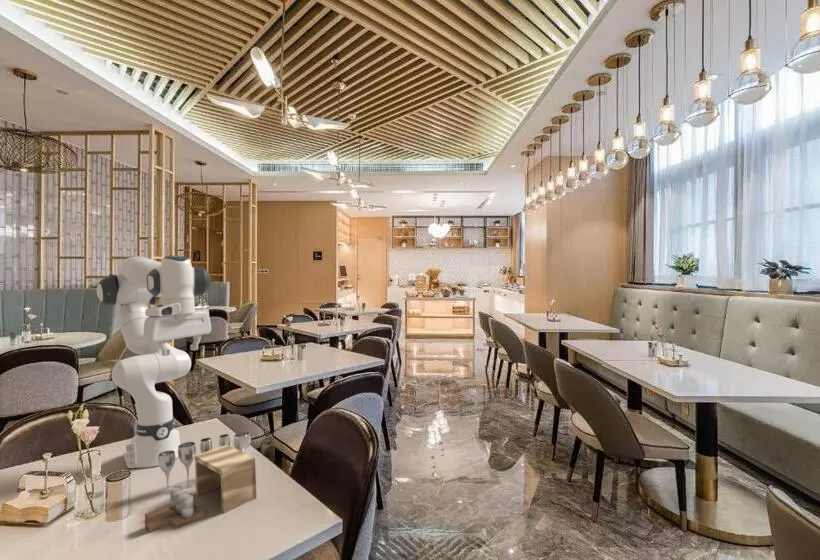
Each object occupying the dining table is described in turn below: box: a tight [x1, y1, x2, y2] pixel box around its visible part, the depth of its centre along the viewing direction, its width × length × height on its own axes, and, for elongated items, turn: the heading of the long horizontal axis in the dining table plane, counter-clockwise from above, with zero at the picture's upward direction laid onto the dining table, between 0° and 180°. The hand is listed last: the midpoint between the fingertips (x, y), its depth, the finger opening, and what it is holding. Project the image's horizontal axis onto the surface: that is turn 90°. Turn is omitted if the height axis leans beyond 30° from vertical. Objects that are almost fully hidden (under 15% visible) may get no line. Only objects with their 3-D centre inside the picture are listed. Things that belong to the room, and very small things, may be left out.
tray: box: [144, 486, 206, 533], centre depth 118 cm, size 11×12×6 cm
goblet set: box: [158, 431, 252, 496], centre depth 141 cm, size 28×6×13 cm, turn 128°
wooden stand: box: [194, 445, 257, 514], centre depth 130 cm, size 17×10×12 cm, turn 51°
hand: (180, 352), depth 133 cm, fingers open, 8 cm apart
